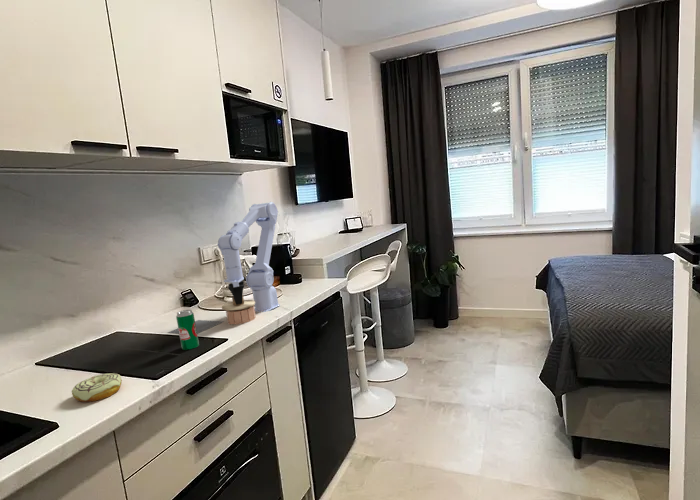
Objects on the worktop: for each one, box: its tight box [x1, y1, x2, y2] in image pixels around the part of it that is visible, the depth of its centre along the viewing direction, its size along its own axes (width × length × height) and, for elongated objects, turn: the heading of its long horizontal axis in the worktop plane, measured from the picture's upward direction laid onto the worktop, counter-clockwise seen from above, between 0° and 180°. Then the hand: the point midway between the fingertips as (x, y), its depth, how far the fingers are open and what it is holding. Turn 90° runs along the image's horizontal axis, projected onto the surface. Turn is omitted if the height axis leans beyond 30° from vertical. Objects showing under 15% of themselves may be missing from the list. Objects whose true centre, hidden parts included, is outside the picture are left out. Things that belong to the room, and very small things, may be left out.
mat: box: [167, 319, 225, 335], centre depth 147 cm, size 14×14×1 cm
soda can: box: [175, 309, 200, 351], centre depth 125 cm, size 5×5×12 cm
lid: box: [221, 294, 255, 311], centre depth 148 cm, size 12×12×4 cm
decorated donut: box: [71, 372, 123, 403], centre depth 100 cm, size 10×11×4 cm
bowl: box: [225, 305, 257, 325], centre depth 149 cm, size 10×10×5 cm
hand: (239, 302), depth 149 cm, fingers closed on lid, 4 cm apart
